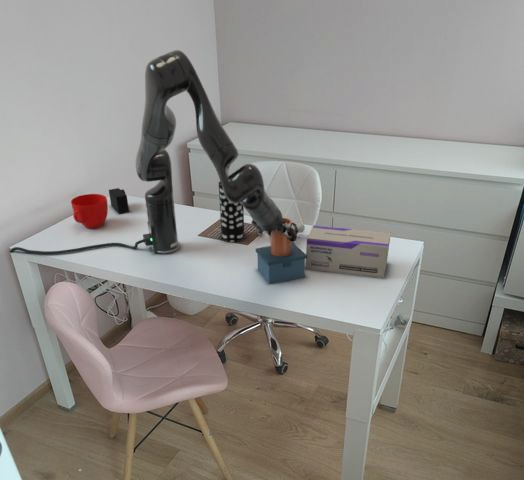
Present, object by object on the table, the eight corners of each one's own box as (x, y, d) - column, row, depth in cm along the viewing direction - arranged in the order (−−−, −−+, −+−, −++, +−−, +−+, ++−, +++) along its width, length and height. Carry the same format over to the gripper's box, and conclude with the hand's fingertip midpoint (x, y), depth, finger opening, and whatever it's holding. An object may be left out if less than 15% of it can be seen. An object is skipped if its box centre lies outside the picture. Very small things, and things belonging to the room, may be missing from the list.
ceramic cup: (63, 233, 201) (57, 207, 195) (88, 217, 214) (83, 192, 208) (94, 237, 198) (88, 211, 192) (117, 220, 211) (113, 195, 205)
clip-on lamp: (251, 247, 196) (295, 246, 187) (247, 231, 193) (291, 229, 184) (266, 232, 204) (309, 231, 195) (262, 217, 201) (305, 214, 191)
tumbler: (275, 257, 165) (275, 226, 159) (267, 249, 170) (267, 219, 164) (294, 254, 167) (294, 223, 161) (286, 246, 172) (286, 216, 166)
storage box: (268, 284, 167) (268, 262, 162) (255, 269, 175) (255, 248, 171) (306, 277, 170) (307, 255, 166) (292, 263, 179) (292, 242, 174)
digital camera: (132, 211, 219) (129, 194, 215) (119, 214, 216) (116, 197, 212) (124, 203, 226) (121, 187, 222) (111, 206, 224) (108, 189, 220)
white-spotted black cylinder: (243, 242, 193) (242, 186, 181) (220, 242, 193) (217, 186, 182) (244, 232, 200) (243, 178, 188) (222, 232, 200) (219, 178, 188)
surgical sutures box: (305, 268, 175) (306, 238, 169) (312, 255, 184) (313, 225, 177) (383, 278, 169) (387, 246, 163) (386, 263, 178) (390, 233, 172)
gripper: (238, 220, 154) (259, 243, 170) (283, 229, 149) (300, 252, 164) (247, 196, 155) (267, 222, 170) (292, 204, 149) (308, 230, 164)
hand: (283, 237), depth 167 cm, fingers closed on tumbler, 6 cm apart
